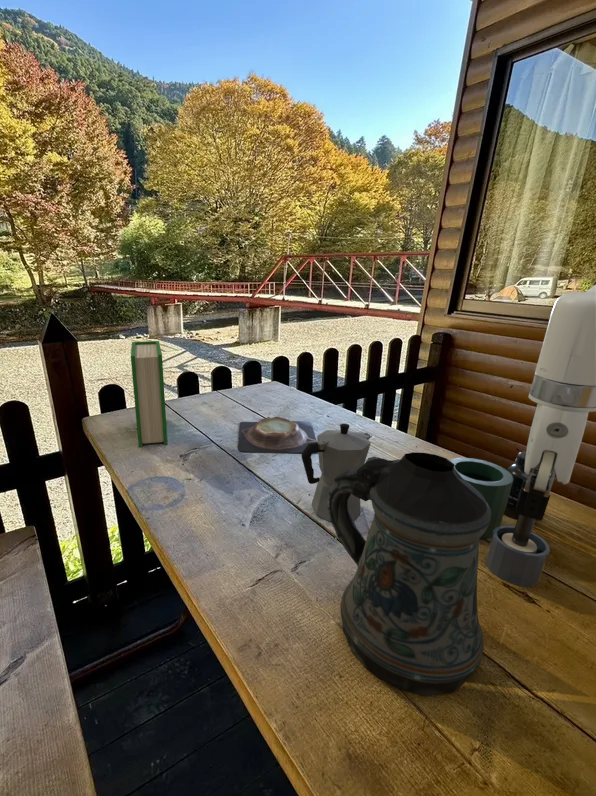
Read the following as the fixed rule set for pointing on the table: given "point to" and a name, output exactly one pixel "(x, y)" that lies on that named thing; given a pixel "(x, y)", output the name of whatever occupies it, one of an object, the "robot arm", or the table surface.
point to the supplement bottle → (515, 485)
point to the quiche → (275, 435)
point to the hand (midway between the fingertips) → (529, 510)
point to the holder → (516, 559)
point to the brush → (521, 535)
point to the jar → (487, 486)
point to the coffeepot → (335, 464)
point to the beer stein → (413, 571)
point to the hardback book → (149, 392)
